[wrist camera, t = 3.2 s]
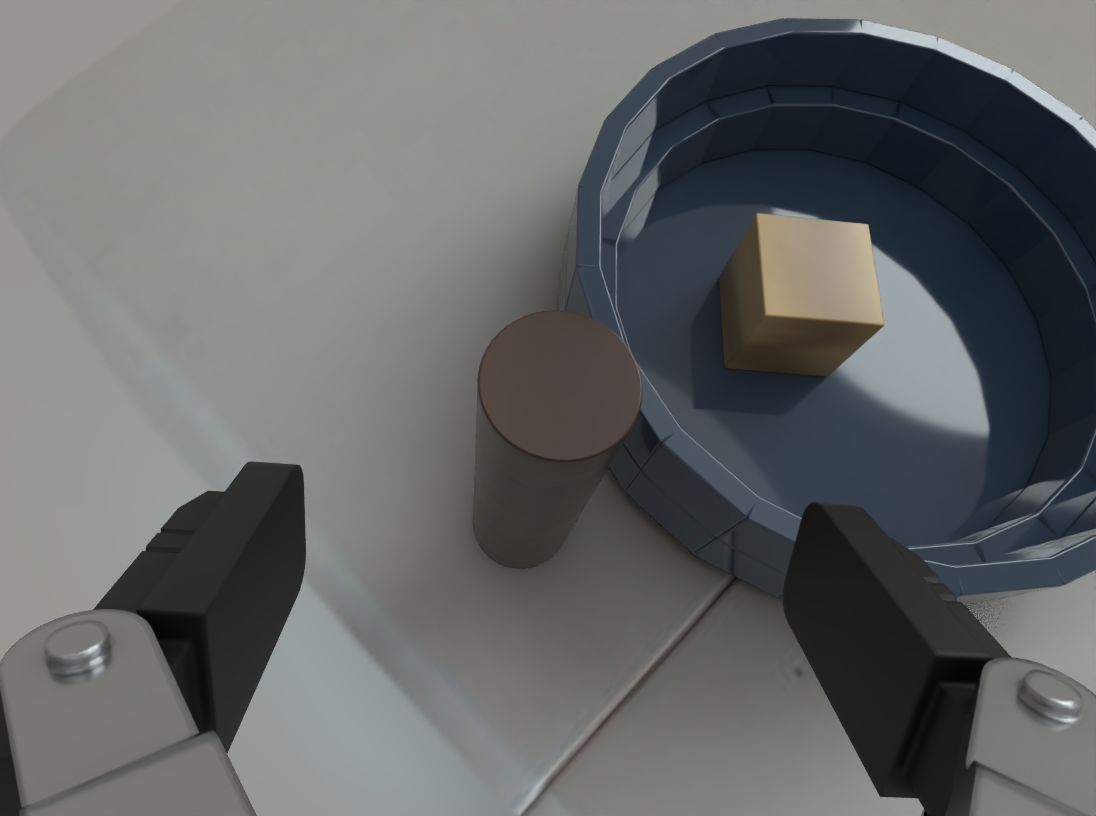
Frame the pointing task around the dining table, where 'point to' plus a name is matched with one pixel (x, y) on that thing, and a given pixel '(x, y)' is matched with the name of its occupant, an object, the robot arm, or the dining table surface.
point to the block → (798, 295)
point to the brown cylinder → (547, 430)
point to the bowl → (904, 287)
